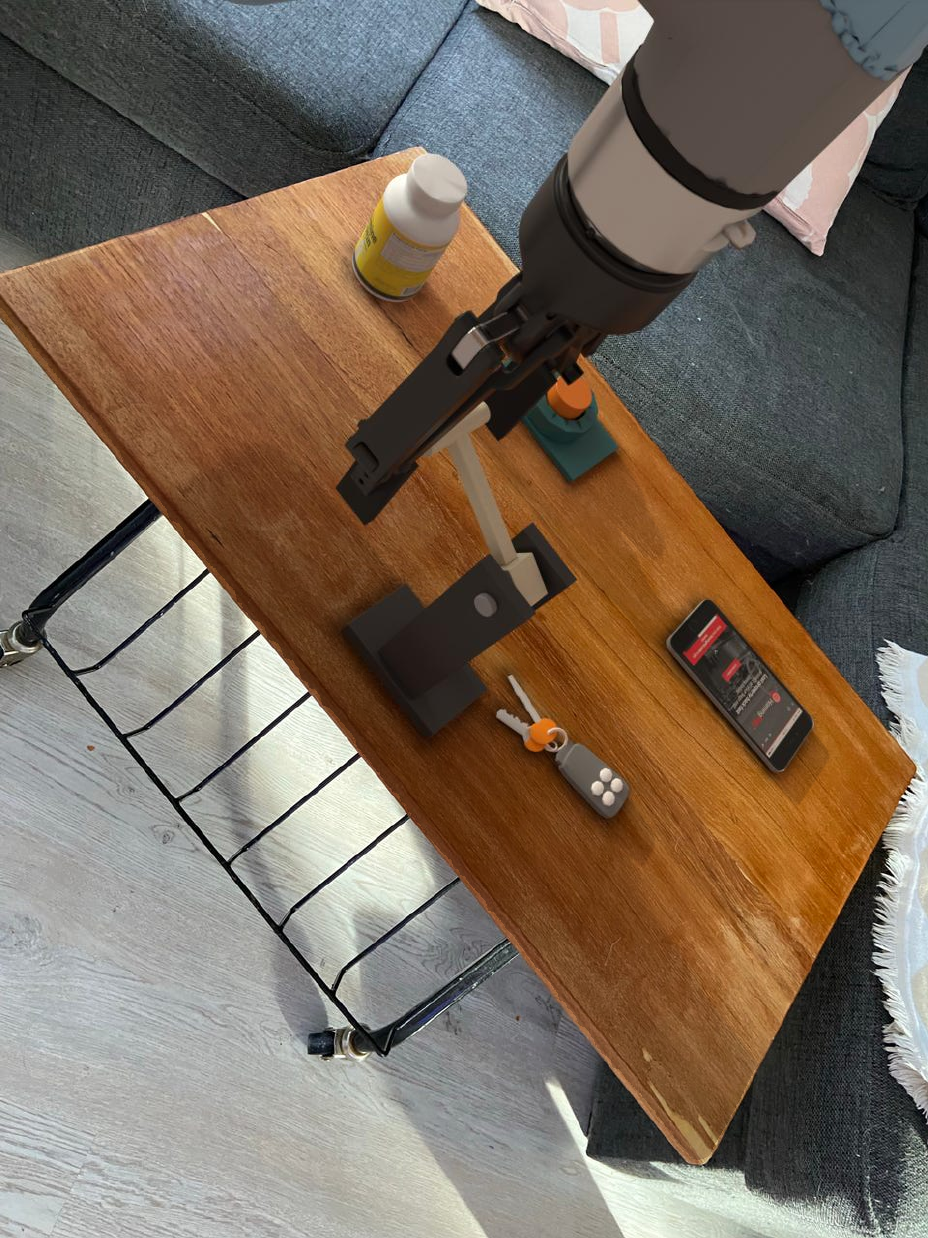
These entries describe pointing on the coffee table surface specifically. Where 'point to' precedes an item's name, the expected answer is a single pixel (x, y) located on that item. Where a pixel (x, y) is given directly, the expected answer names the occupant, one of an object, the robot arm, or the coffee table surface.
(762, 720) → the smartphone
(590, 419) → the teal button base
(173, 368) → the coffee table surface
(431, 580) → the coffee table surface
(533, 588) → the switch lever
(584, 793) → the key chain
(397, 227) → the pill bottle
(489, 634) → the lever switch stand
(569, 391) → the button
